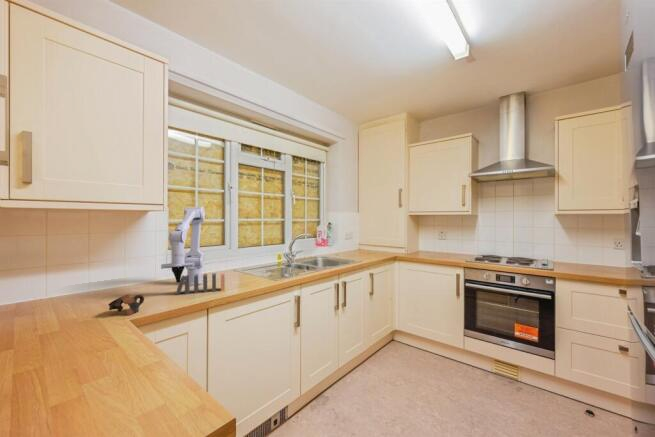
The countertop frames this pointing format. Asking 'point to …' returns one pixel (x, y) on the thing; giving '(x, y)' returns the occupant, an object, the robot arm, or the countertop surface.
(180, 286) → the domino
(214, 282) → the domino
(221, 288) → the domino
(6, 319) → the countertop surface
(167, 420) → the countertop surface
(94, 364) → the countertop surface
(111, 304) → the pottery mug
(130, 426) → the countertop surface
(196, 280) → the domino
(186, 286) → the domino
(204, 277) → the domino
